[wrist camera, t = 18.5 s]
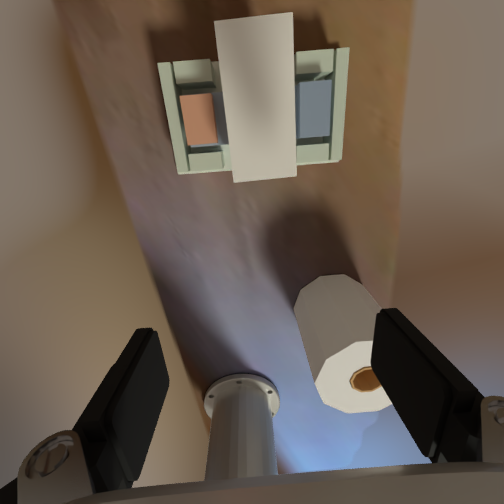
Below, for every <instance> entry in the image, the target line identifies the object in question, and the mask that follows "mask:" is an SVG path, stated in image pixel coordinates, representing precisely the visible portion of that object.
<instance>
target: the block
mask: <svg viewBox="0 0 504 504" xmlns="http://www.w3.org/2000/svg"><path fill="white" fill-rule="evenodd" d="M214 26H215V35H216V43H217V51H218V59H219V67H220V75H221V83H222V91H223V99H224V107H225V115H226V123H227V131H228V139H229V147H230V156H231V164H232V172H233V180H234V183H235V182H245V181H255V180H264V179H274V178H283V177H293V176H297V166H296V124H295V81H294V39H293V12H289V13H280V14H271V15H262V16H254V17H245V18H236V19H228V20H219V21H214Z"/></svg>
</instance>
